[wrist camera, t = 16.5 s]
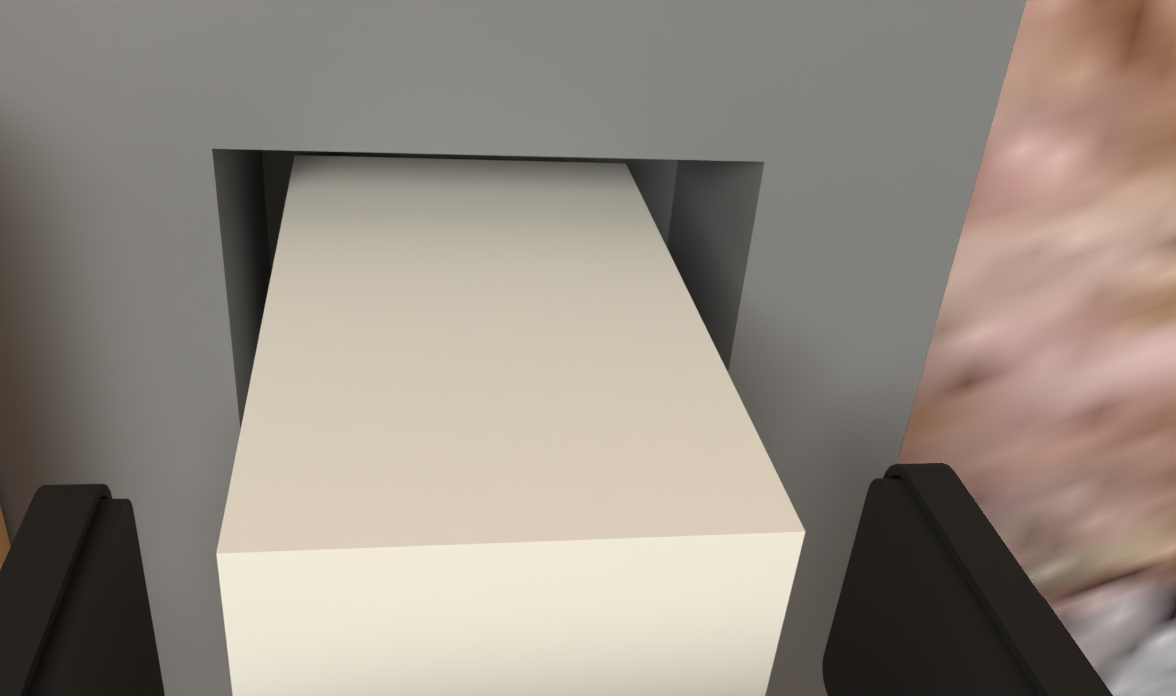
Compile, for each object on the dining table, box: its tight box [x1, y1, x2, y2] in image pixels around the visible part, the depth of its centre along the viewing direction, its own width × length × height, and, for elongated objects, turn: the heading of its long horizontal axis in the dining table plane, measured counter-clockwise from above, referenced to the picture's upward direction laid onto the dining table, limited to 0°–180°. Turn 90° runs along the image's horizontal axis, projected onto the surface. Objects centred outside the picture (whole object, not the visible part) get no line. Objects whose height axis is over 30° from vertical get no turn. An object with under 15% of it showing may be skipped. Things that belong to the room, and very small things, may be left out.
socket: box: [0, 0, 1026, 696], centre depth 16 cm, size 18×14×5 cm
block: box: [216, 155, 805, 696], centre depth 14 cm, size 5×5×10 cm
